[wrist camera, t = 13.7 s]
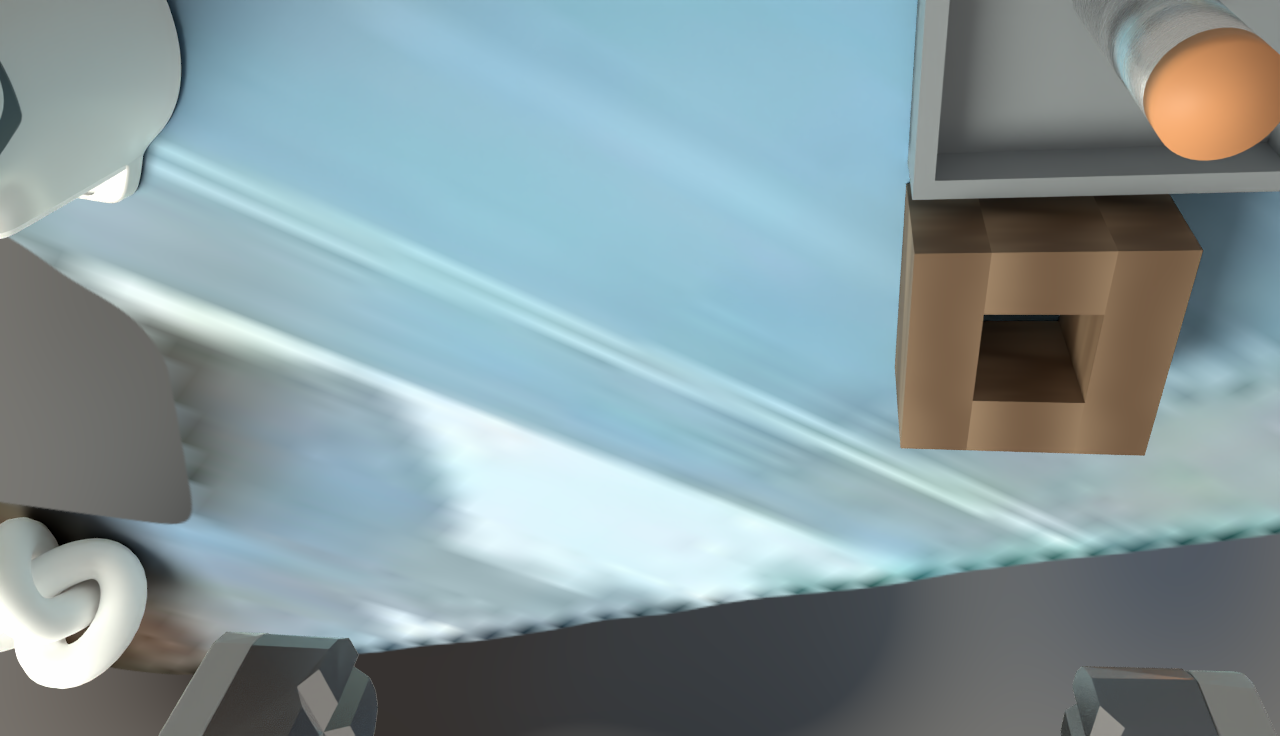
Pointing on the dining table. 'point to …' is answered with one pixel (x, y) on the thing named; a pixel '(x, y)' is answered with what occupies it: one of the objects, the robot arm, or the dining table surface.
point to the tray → (1050, 110)
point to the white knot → (66, 602)
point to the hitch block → (1039, 350)
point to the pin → (1190, 71)
